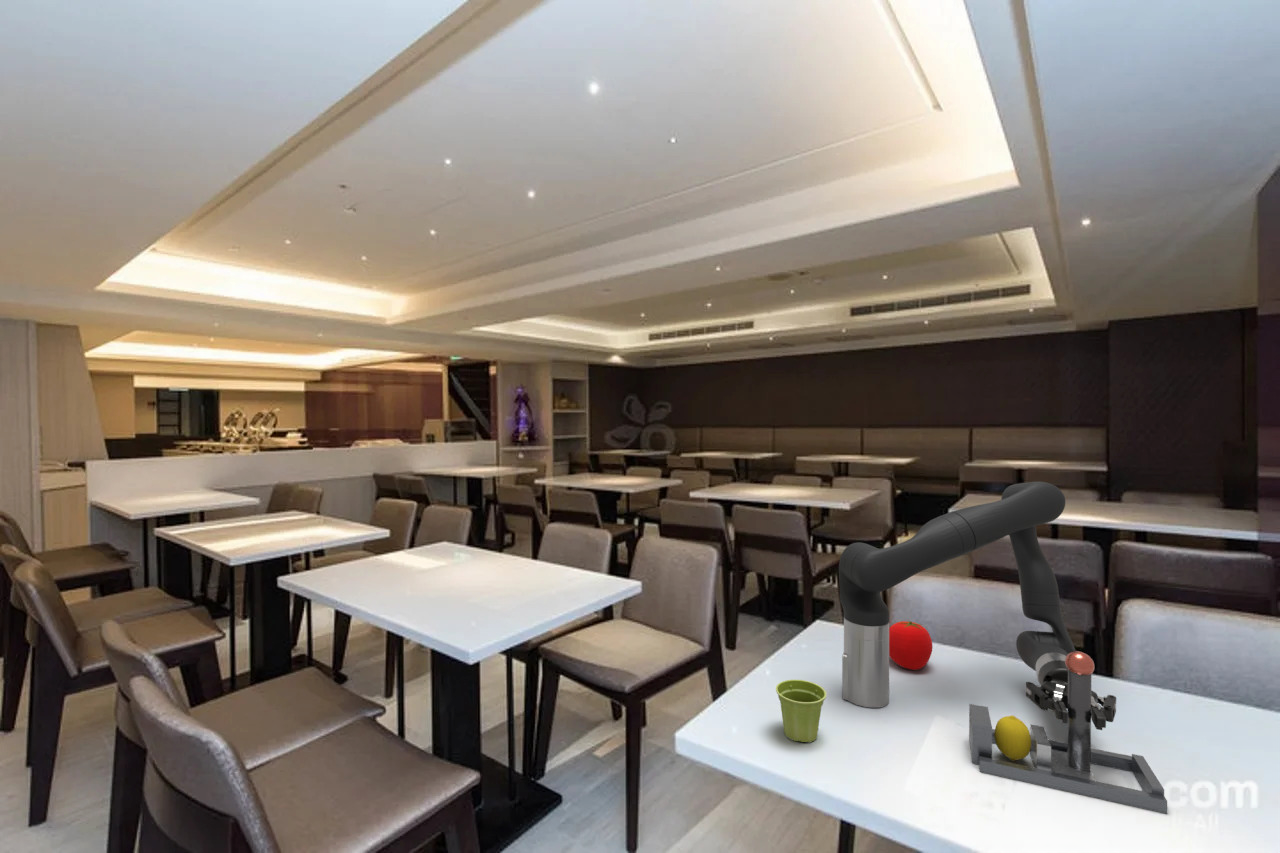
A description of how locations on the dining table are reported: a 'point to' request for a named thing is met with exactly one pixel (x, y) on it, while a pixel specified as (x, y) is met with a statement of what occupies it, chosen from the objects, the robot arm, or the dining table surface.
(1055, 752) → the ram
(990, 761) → the frame
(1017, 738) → the lemon
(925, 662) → the tomato
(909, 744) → the dining table surface
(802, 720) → the plant pot
